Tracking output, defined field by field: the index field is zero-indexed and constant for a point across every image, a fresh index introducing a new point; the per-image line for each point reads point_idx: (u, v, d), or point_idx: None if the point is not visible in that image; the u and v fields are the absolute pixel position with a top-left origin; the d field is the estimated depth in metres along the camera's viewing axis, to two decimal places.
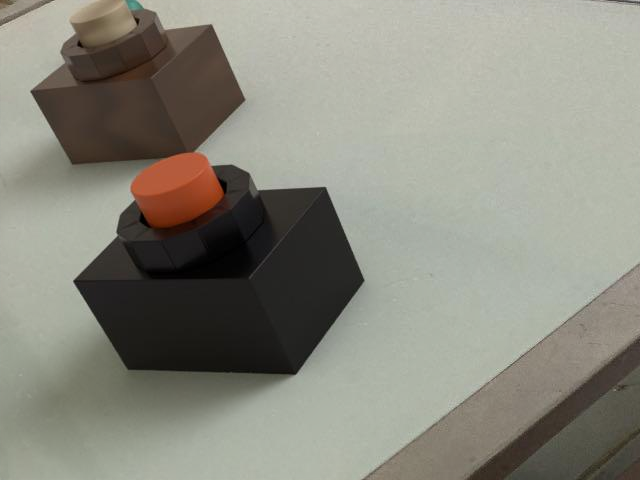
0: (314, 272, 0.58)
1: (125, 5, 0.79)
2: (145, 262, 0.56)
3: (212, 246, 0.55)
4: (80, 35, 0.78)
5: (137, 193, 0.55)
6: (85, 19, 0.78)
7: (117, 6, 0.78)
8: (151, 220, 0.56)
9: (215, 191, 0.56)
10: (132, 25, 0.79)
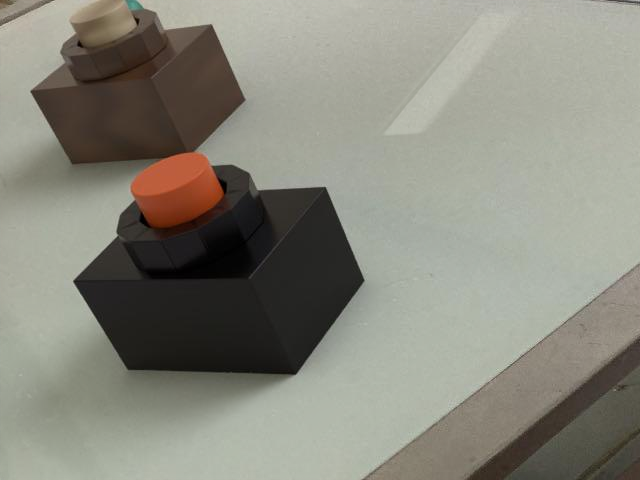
0: (314, 272, 0.58)
1: (125, 5, 0.79)
2: (145, 262, 0.56)
3: (212, 246, 0.55)
4: (80, 35, 0.78)
5: (137, 193, 0.55)
6: (85, 19, 0.78)
7: (117, 6, 0.78)
8: (151, 220, 0.56)
9: (215, 191, 0.56)
10: (132, 25, 0.79)
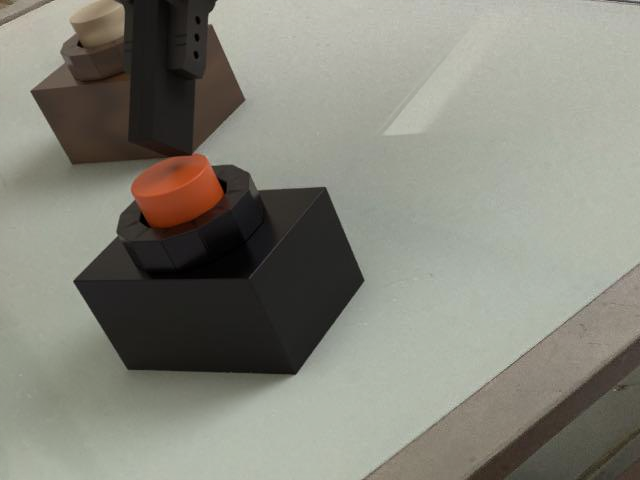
0: (314, 272, 0.58)
1: None
2: (145, 262, 0.56)
3: (212, 246, 0.55)
4: (80, 35, 0.78)
5: (137, 194, 0.55)
6: (85, 19, 0.78)
7: (117, 6, 0.78)
8: (151, 221, 0.56)
9: (215, 192, 0.56)
10: None
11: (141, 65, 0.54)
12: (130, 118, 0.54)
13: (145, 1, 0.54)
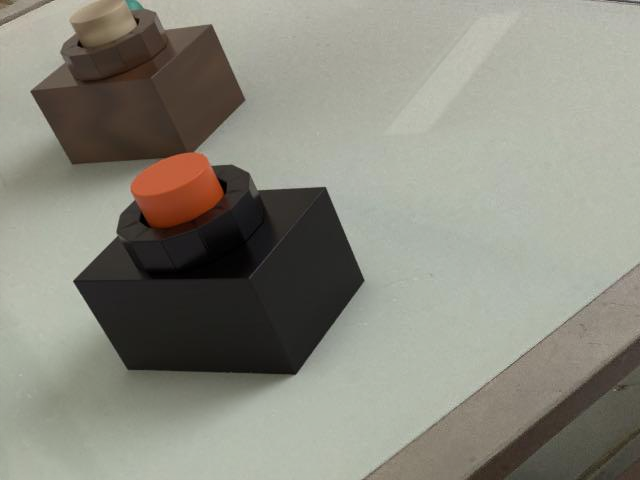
0: (314, 272, 0.58)
1: (125, 5, 0.79)
2: (145, 262, 0.56)
3: (212, 246, 0.55)
4: (80, 35, 0.78)
5: (137, 193, 0.55)
6: (85, 19, 0.78)
7: (117, 6, 0.78)
8: (151, 220, 0.56)
9: (215, 190, 0.56)
10: (132, 25, 0.79)
11: None
12: None
13: None
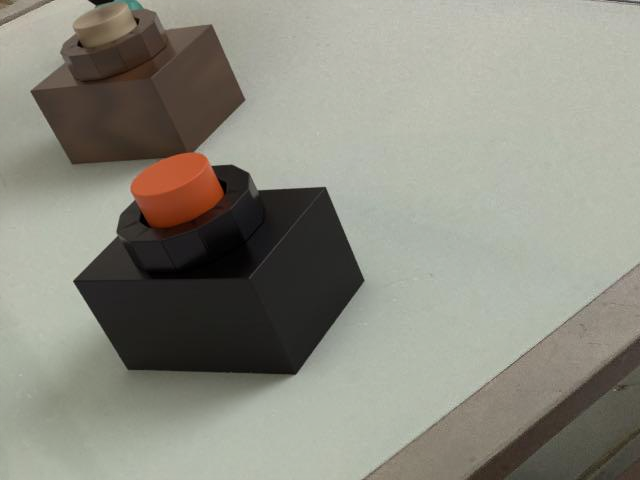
0: (314, 272, 0.58)
1: (128, 10, 0.79)
2: (145, 262, 0.56)
3: (212, 246, 0.55)
4: (83, 40, 0.79)
5: (137, 193, 0.55)
6: (88, 24, 0.78)
7: (120, 11, 0.78)
8: (151, 220, 0.56)
9: (215, 190, 0.56)
10: None
11: None
12: None
13: None
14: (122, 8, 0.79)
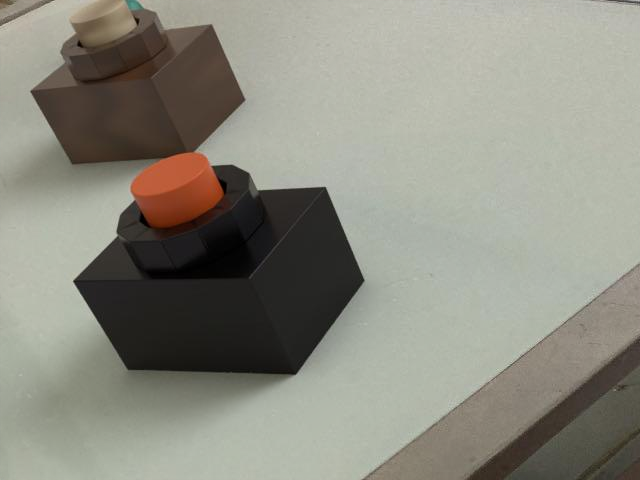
0: (314, 272, 0.58)
1: (125, 5, 0.79)
2: (145, 262, 0.56)
3: (212, 246, 0.55)
4: (80, 35, 0.78)
5: (137, 193, 0.55)
6: (85, 19, 0.78)
7: (117, 6, 0.78)
8: (151, 220, 0.56)
9: (215, 190, 0.56)
10: (132, 25, 0.79)
11: None
12: None
13: None
14: (119, 3, 0.78)
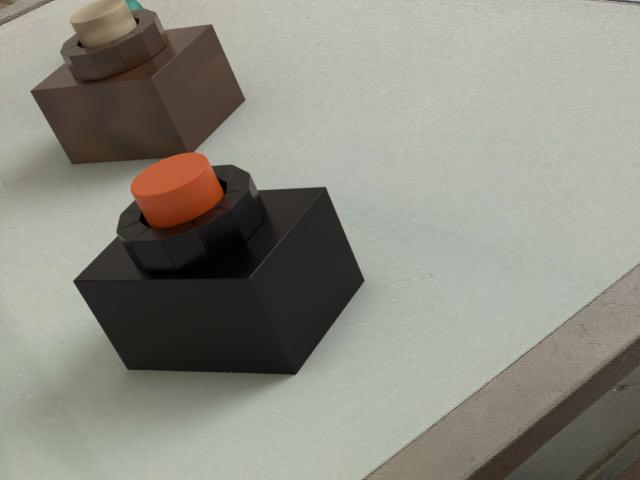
0: (314, 272, 0.58)
1: (125, 5, 0.79)
2: (145, 262, 0.56)
3: (212, 246, 0.55)
4: (80, 35, 0.78)
5: (137, 193, 0.55)
6: (85, 19, 0.78)
7: (117, 6, 0.78)
8: (151, 220, 0.56)
9: (215, 190, 0.56)
10: (132, 25, 0.79)
11: None
12: None
13: None
14: (119, 3, 0.78)
